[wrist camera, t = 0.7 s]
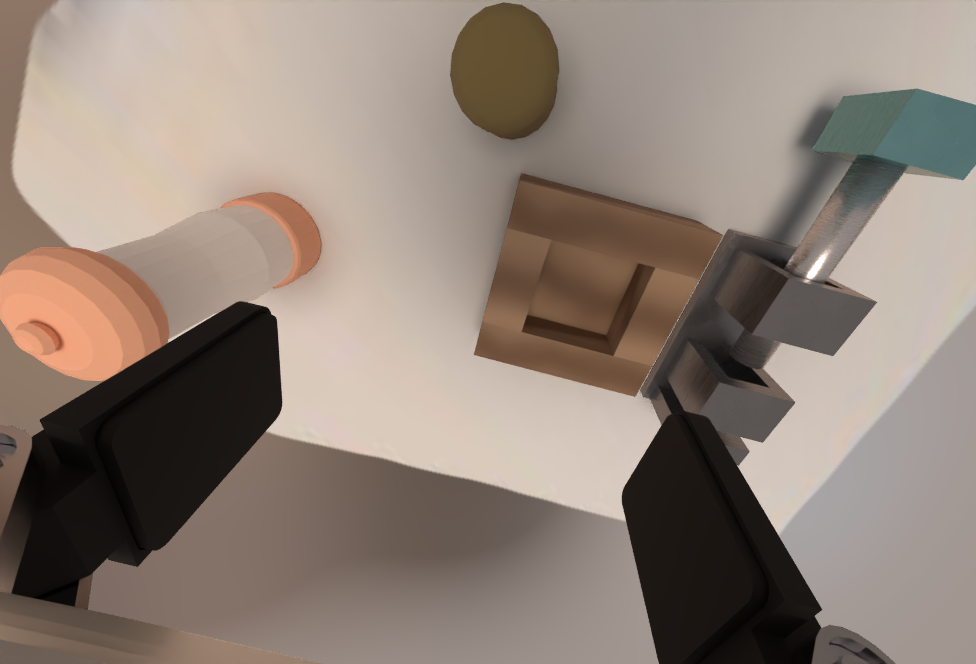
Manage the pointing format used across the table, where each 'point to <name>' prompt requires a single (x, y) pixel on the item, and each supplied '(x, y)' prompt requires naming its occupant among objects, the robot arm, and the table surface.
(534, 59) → the olive brown pear shape
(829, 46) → the table surface
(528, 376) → the table surface
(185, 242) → the salt shaker
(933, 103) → the steel shaft
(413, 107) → the table surface
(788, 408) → the shaft bracket
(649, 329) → the walnut holder
